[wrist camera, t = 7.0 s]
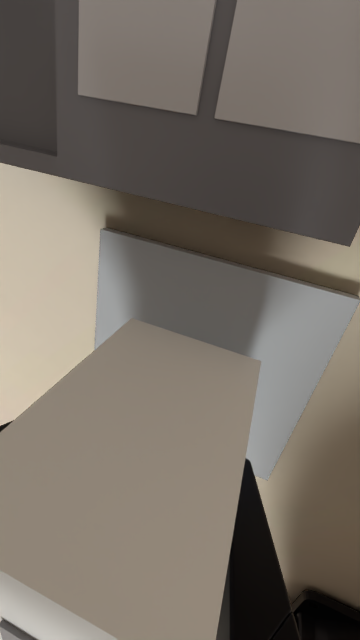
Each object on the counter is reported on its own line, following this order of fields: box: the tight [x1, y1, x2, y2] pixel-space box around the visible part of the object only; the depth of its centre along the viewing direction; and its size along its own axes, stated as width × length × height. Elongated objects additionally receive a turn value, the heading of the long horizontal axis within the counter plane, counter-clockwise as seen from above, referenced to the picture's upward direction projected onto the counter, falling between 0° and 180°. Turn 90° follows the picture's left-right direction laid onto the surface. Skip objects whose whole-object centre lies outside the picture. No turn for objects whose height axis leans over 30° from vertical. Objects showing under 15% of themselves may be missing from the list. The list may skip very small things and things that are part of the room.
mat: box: [95, 228, 360, 480], centre depth 12 cm, size 9×9×1 cm
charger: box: [0, 318, 261, 640], centre depth 8 cm, size 4×4×7 cm
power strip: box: [0, 0, 360, 247], centre depth 7 cm, size 22×6×4 cm, turn 79°
